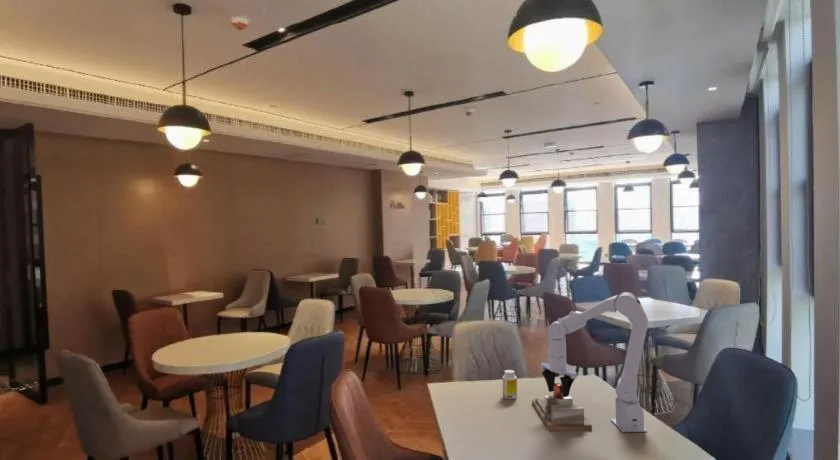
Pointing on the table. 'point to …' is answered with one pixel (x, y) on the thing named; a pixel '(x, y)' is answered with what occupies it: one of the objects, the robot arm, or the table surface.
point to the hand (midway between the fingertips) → (558, 393)
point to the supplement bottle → (509, 384)
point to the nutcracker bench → (560, 426)
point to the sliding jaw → (557, 397)
